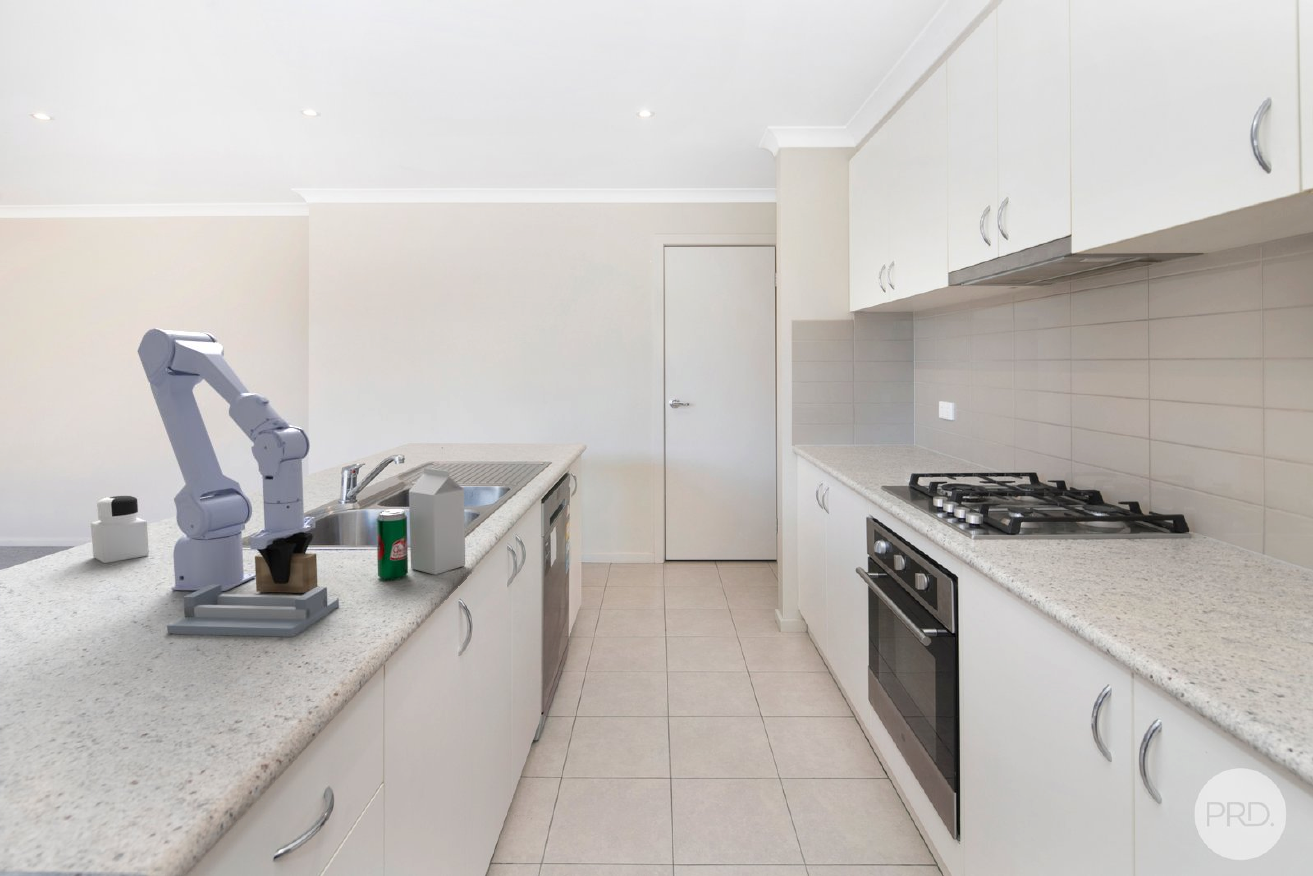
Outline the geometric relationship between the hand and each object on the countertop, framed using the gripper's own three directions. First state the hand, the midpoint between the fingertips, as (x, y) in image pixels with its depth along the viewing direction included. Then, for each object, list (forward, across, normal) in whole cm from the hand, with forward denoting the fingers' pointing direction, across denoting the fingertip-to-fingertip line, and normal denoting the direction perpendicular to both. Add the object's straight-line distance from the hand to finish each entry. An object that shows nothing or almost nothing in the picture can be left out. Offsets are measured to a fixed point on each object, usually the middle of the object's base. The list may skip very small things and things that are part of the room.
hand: (286, 580), depth 106 cm
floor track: (+2, -12, -3) cm, 13 cm away
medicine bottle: (+2, +18, +45) cm, 48 cm away
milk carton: (+2, +15, -20) cm, 25 cm away
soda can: (+2, +9, -14) cm, 17 cm away
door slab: (+2, 0, 0) cm, 2 cm away
